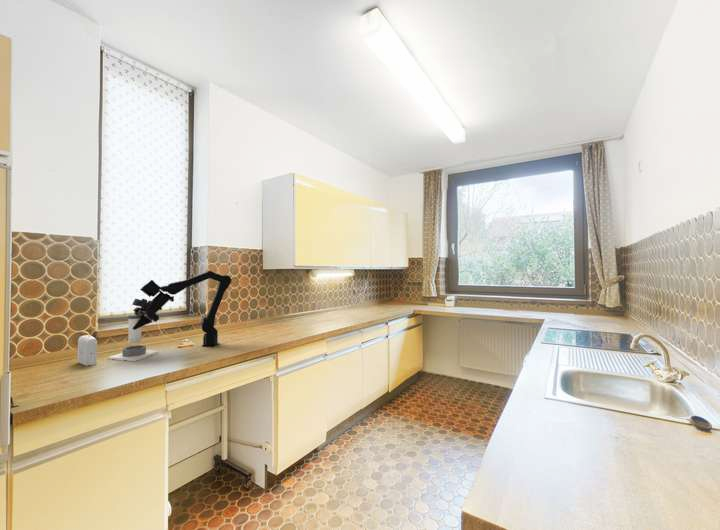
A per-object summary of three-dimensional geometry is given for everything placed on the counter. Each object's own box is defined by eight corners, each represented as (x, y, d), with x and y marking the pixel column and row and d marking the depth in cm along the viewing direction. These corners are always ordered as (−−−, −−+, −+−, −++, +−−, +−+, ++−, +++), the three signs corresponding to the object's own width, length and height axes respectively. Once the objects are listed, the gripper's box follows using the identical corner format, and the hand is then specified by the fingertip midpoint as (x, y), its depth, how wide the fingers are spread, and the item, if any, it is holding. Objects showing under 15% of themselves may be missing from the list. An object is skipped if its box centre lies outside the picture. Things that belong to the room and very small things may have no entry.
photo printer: (98, 364, 139) (98, 335, 139) (86, 366, 136) (86, 337, 136) (87, 360, 144) (88, 333, 144) (75, 362, 141) (76, 334, 141)
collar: (158, 352, 157) (159, 344, 157) (133, 361, 144) (134, 352, 144) (134, 351, 160) (134, 343, 160) (108, 359, 146) (108, 350, 146)
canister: (144, 340, 154) (144, 315, 154) (134, 343, 149) (134, 316, 149) (135, 340, 155) (135, 314, 155) (125, 342, 150) (125, 316, 150)
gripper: (138, 291, 161) (111, 315, 152) (151, 293, 149) (123, 320, 140) (155, 305, 167) (130, 329, 158) (170, 308, 155) (143, 335, 147)
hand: (131, 328), depth 151 cm, fingers closed on canister, 5 cm apart
